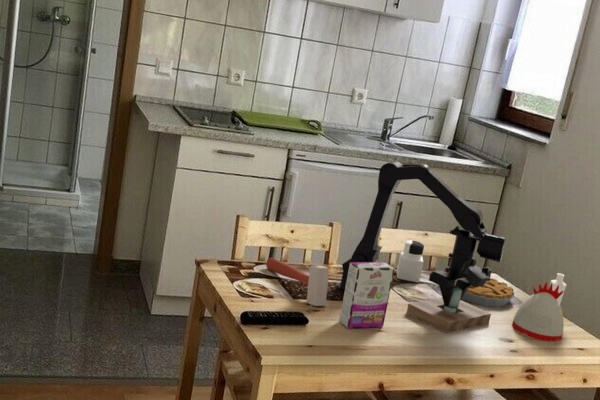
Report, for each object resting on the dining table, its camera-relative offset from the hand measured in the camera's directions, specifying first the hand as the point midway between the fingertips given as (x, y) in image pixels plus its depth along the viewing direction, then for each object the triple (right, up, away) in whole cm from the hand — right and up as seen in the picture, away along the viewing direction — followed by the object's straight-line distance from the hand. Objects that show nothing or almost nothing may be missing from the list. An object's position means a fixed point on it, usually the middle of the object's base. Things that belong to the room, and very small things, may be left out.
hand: (450, 305), depth 213 cm
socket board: (-1, -4, +1) cm, 4 cm away
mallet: (-44, +4, +4) cm, 45 cm away
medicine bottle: (-8, +4, +33) cm, 34 cm away
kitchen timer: (+25, -8, +4) cm, 27 cm away
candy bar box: (-27, -3, -16) cm, 31 cm away
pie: (+14, -1, +28) cm, 31 cm away
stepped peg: (-1, -3, +1) cm, 3 cm away
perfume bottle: (+32, -7, +14) cm, 36 cm away
